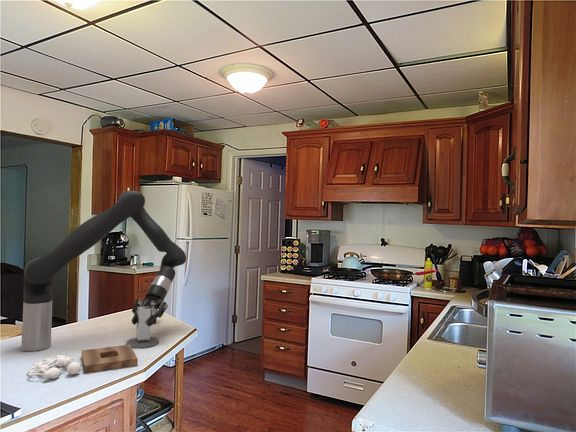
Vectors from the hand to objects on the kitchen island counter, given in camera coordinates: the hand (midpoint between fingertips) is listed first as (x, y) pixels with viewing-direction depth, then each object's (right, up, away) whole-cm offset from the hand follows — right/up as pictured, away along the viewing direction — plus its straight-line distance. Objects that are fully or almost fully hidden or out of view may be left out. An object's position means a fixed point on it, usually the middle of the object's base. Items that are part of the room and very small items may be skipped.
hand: (141, 324), depth 157 cm
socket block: (-4, -8, -18) cm, 21 cm away
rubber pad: (0, -8, +2) cm, 8 cm away
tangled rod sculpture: (-18, -8, -28) cm, 34 cm away
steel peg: (0, -6, +2) cm, 6 cm away
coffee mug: (-8, -8, +33) cm, 35 cm away
